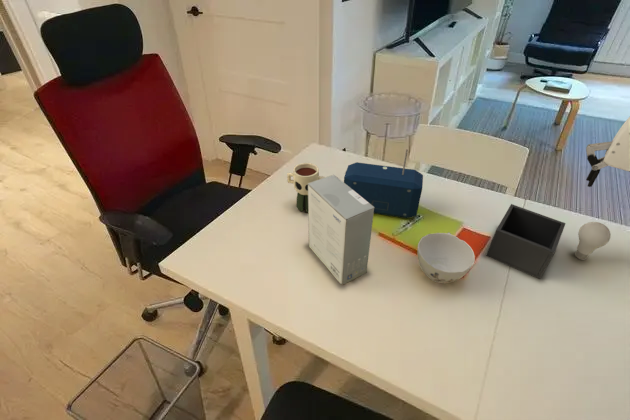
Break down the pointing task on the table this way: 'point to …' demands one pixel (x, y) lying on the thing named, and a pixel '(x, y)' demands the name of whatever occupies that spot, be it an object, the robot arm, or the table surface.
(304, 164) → the character mug
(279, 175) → the table surface
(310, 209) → the hard drive box
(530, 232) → the bin
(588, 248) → the lightbulb
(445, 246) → the teacup
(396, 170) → the radio
